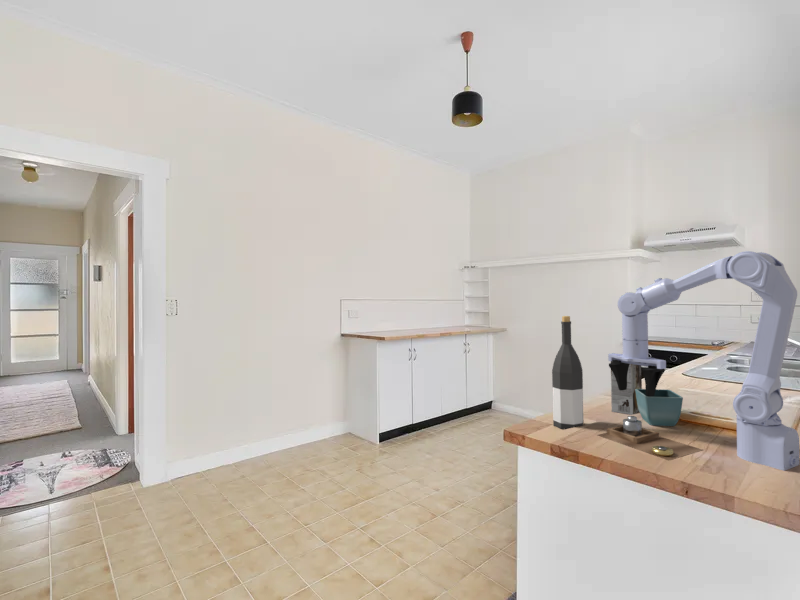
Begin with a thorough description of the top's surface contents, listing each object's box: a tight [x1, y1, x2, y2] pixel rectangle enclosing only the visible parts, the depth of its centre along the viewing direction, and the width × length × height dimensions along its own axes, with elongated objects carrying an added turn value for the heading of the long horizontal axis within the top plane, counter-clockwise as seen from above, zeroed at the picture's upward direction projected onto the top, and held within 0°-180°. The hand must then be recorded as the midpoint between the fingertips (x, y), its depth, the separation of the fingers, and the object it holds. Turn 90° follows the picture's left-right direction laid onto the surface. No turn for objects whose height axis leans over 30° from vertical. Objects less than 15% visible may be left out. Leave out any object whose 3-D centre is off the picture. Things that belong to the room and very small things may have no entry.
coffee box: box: [610, 361, 643, 416], centre depth 129 cm, size 9×6×16 cm
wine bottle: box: [551, 315, 585, 430], centre depth 116 cm, size 8×8×30 cm
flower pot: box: [635, 388, 684, 427], centre depth 114 cm, size 9×9×9 cm
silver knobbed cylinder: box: [622, 415, 643, 437], centre depth 104 cm, size 4×4×5 cm
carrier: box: [597, 424, 704, 461], centre depth 100 cm, size 18×12×2 cm, turn 25°
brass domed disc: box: [652, 446, 673, 457], centre depth 93 cm, size 4×4×1 cm
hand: (636, 392), depth 108 cm, fingers open, 7 cm apart
